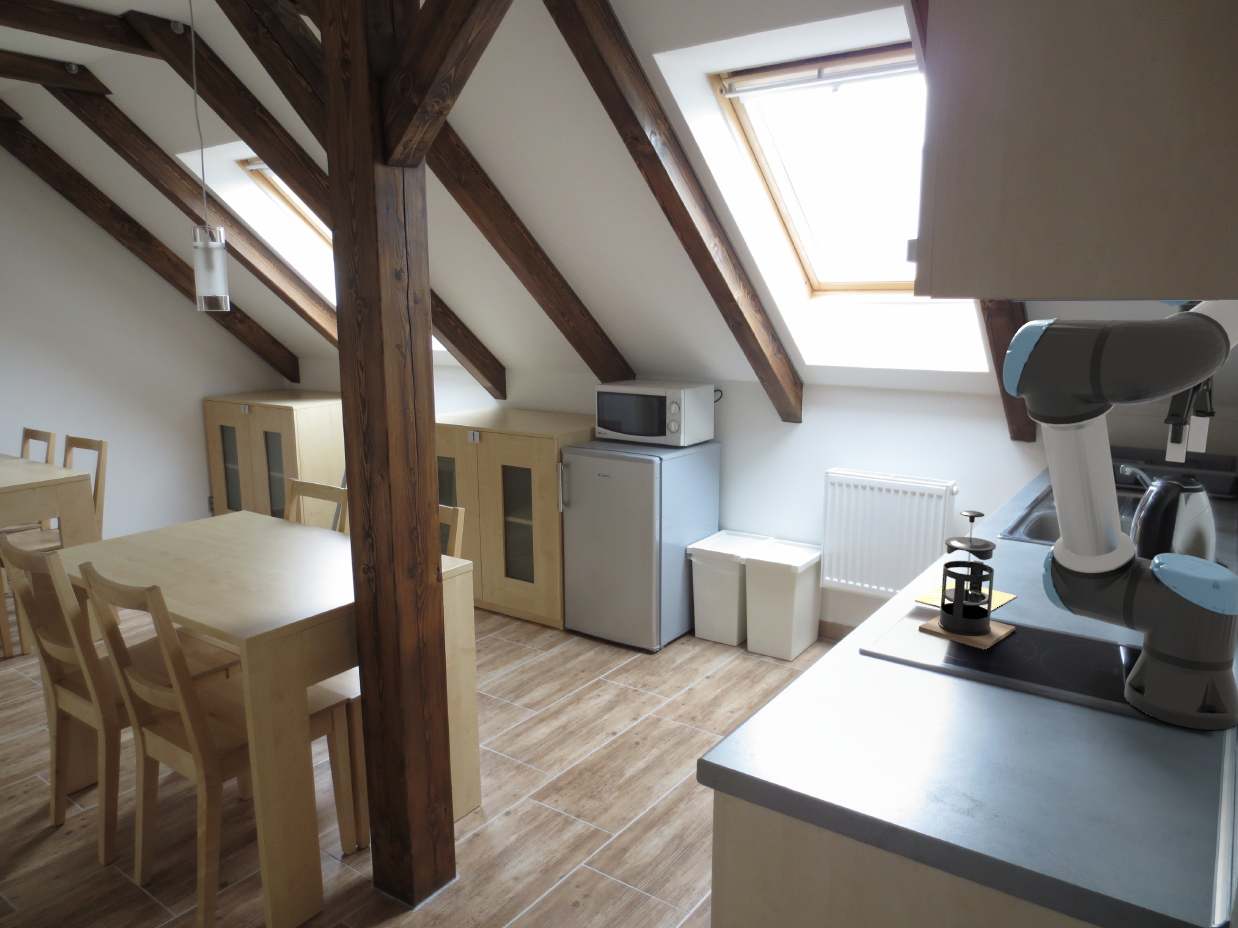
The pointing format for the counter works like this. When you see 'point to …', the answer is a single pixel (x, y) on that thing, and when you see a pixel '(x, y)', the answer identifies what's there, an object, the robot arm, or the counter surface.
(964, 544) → the french press
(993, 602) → the recipe card
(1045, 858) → the counter surface
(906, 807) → the counter surface
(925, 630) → the wooden cutting board
